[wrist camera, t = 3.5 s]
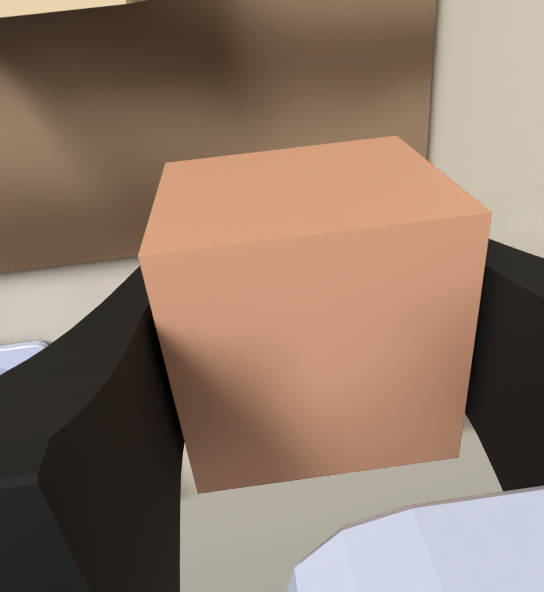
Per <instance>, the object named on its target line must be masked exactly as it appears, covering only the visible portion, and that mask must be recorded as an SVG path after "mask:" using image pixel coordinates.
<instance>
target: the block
mask: <svg viewBox="0 0 544 592" xmlns="http://www.w3.org/2000/svg"><path fill="white" fill-rule="evenodd" d="M491 217H492V212H491V211H490V210H488V209H487V208H486V207H485V206H483V205H482V204H481V203H480V202H478V201H477V200H476V199H475V198H473V197H472V196H471V195H470V194H468V193H467V192H466V191H465V190H464V189H462V188H461V187H460V186H459V185H457V184H456V183H455V182H454V181H452V180H451V179H450V178H449V177H447V176H446V175H445V174H444V173H442V172H441V171H440V170H439V169H437V168H436V167H435V166H434V165H433V164H431V163H430V162H429V161H428V160H426V159H425V158H424V157H423V156H421V155H420V154H419V153H418V152H416V151H415V150H414V149H413V148H411V147H410V146H409V145H408V144H406V143H405V142H404V141H403V140H402V139H400V138H399V137H398V136H389V137H381V138H372V139H364V140H355V141H347V142H338V143H330V144H321V145H313V146H304V147H296V148H287V149H279V150H270V151H262V152H253V153H245V154H236V155H228V156H219V157H211V158H202V159H194V160H185V161H177V162H168V163H165V166H164V169H163V173H162V176H161V180H160V183H159V186H158V190H157V193H156V197H155V200H154V203H153V207H152V210H151V214H150V217H149V220H148V224H147V227H146V231H145V234H144V237H143V241H142V244H141V247H140V251H139V254H138V259H139V263H140V267H141V270H142V274H143V278H144V282H145V286H146V290H147V294H148V298H149V302H150V306H151V310H152V314H153V318H154V322H155V326H156V330H157V334H158V338H159V342H160V346H161V350H162V354H163V358H164V362H165V366H166V370H167V374H168V377H169V381H170V385H171V389H172V393H173V397H174V401H175V405H176V409H177V413H178V417H179V421H180V425H181V429H182V433H183V437H184V441H185V445H186V449H187V453H188V457H189V461H190V465H191V469H192V473H193V477H194V480H195V484H196V488H197V492H198V494H199V493H207V492H214V491H221V490H228V489H235V488H243V487H250V486H257V485H264V484H271V483H278V482H286V481H293V480H300V479H307V478H314V477H322V476H329V475H336V474H343V473H349V472H358V471H365V470H372V469H379V468H386V467H394V466H401V465H408V464H415V463H422V462H430V461H437V460H444V459H451V458H458V457H459V451H460V444H461V437H462V429H463V422H464V415H465V407H466V400H467V393H468V385H469V378H470V371H471V363H472V356H473V349H474V341H475V334H476V327H477V319H478V312H479V305H480V297H481V290H482V283H483V275H484V268H485V261H486V253H487V246H488V239H489V231H490V224H491Z"/></svg>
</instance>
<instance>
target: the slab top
mask: <svg viewBox="0 0 544 592" xmlns="http://www.w3.org/2000/svg"><path fill="white" fill-rule="evenodd" d="M135 2H140V0H0V18H1V17H10V16H19V15H28V14H38V13H47V12H56V11H66V10H75V9H84V8H93V7H103V6H112V5H121V4H129V3H135Z"/></svg>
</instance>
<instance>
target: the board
mask: <svg viewBox="0 0 544 592" xmlns="http://www.w3.org/2000/svg"><path fill="white" fill-rule="evenodd" d="M436 3H437V0H146V1H140V2H135V3H129V4H121V5H112V6H103V7H93V8H84V9H75V10H66V11H56V12H47V13H38V14H28V15H19V16H10V17H1V18H0V274H1V273H9V272H17V271H25V270H33V269H41V268H49V267H57V266H65V265H73V264H81V263H89V262H97V261H105V260H113V259H121V258H129V257H137V256H138V254H139V251H140V247H141V244H142V241H143V237H144V234H145V231H146V227H147V224H148V220H149V217H150V214H151V210H152V207H153V203H154V200H155V197H156V193H157V190H158V186H159V183H160V180H161V176H162V173H163V169H164V166H165V163H168V162H177V161H185V160H194V159H202V158H211V157H219V156H228V155H236V154H245V153H253V152H262V151H270V150H279V149H287V148H296V147H304V146H313V145H321V144H330V143H338V142H347V141H355V140H364V139H372V138H381V137H389V136H398V137H399V138H400V139H402V140H403V141H404V142H405V143H406V144H408V145H409V146H410V147H411V148H413V149H414V150H415V151H416V152H418V153H419V154H420V155H421V156H423V157H424V158H425V159H426V160H427V144H428V128H429V113H430V97H431V82H432V66H433V50H434V35H435V19H436Z"/></svg>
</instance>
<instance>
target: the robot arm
mask: <svg viewBox="0 0 544 592" xmlns="http://www.w3.org/2000/svg"><path fill="white" fill-rule="evenodd" d="M465 414H466V415H467V417H468V419H469V420H470V422H471V424H472V426H473V428H474V430H475V431H476V433H477V435H478V437H479V439H480V441H481V443H482V445H483V448H484V450H485V452H486V454H487V456H488V458H489V461H490V463H491V465H492V467H493V469H494V471H495V474H496V476H497V478H498V480H499V483H500V485H501V487H502V490H503V492H496V493H490V494H483V495H476V496H469V497H462V498H455V499H448V500H441V501H434V502H427V503H421V504H414V505H407V506H404V507H400V508H397V509H394V510H391V511H388V512H385V513H381V514H378V515H375V516H372V517H369V518H365V519H362V520H359V521H356V522H353V523H350V524H346V525H345V526H344V527H342V528H341V529H340V530H339V531H337V532H336V533H335V534H333V535H332V536H331V537H330V538H328V539H327V540H326V541H325V542H323V543H322V544H321V545H320V546H318V547H317V548H316V549H314V550H313V551H312V552H311V553H309V554H308V555H307V556H306V557H304V558H303V559H302V560H301V562H299V564H298V565H297V566H296V567H295V568H294V571H293V574H292V577H291V580H290V583H289V586H288V589H287V592H544V258H541V257H538V256H535V255H532V254H529V253H526V252H524V251H521V250H518V249H515V248H512V247H510V246H507V245H504V244H501V243H499V242H496V241H493V240H491V239H488V246H487V253H486V261H485V268H484V275H483V283H482V290H481V297H480V305H479V312H478V319H477V327H476V334H475V341H474V349H473V356H472V363H471V371H470V378H469V385H468V393H467V400H466V407H465ZM184 442H185V441H184V437H183V433H182V429H181V425H180V421H179V417H178V413H177V409H176V405H175V401H174V397H173V393H172V389H171V385H170V381H169V377H168V374H167V370H166V366H165V362H164V358H163V354H162V350H161V346H160V342H159V338H158V334H157V330H156V326H155V322H154V318H153V314H152V310H151V306H150V302H149V298H148V294H147V290H146V286H145V282H144V278H143V274H142V270H141V267H140V266H139V267H138V268H137V269H136V270H135V271H134V272H133V273H132V274H131V275H130V276H129V277H128V278H127V279H126V280H125V281H124V282H123V283H122V284H121V285H120V286H119V287H118V288H117V289H116V290H115V291H114V292H113V293H112V294H111V295H110V296H109V297H108V298H106V299H105V300H104V301H103V302H102V303H101V304H100V305H99V306H97V307H96V308H95V309H94V310H93V311H92V312H90V313H89V314H88V315H87V316H86V317H85V318H83V319H82V320H81V321H80V322H79V323H78V324H76V325H75V326H74V327H73V328H72V329H70V330H69V331H68V332H66V333H65V334H64V335H62V336H61V337H60V338H58V339H57V340H55V341H54V342H53V343H51V344H50V345H48V344H46V343H45V342H42V341H32V342H24V343H16V344H9V345H1V346H0V592H180V490H181V469H182V457H183V449H184Z"/></svg>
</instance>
